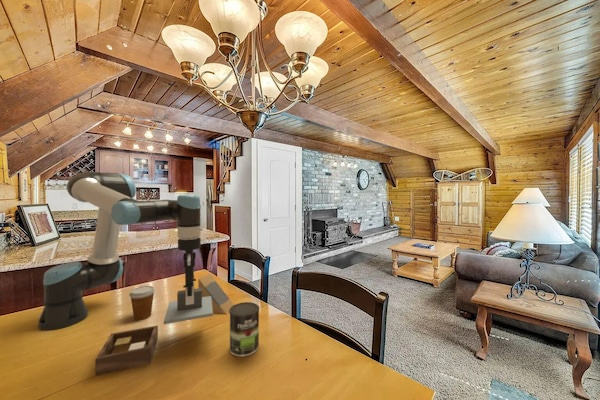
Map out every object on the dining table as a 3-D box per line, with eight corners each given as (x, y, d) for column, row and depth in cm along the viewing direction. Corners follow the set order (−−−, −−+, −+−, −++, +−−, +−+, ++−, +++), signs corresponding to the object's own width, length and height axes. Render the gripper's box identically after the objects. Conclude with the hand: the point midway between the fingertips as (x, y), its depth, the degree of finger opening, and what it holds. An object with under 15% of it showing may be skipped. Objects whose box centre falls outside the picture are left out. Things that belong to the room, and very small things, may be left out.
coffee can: (263, 351, 85) (263, 311, 85) (232, 360, 80) (232, 318, 80) (254, 335, 94) (254, 299, 94) (226, 343, 89) (226, 305, 89)
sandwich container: (226, 315, 110) (226, 282, 109) (198, 310, 114) (197, 278, 114) (237, 306, 118) (237, 276, 118) (209, 302, 122) (209, 272, 122)
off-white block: (131, 355, 81) (131, 343, 81) (145, 352, 82) (145, 341, 82) (128, 363, 77) (128, 351, 77) (143, 360, 79) (143, 348, 78)
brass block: (118, 350, 84) (117, 338, 83) (131, 347, 85) (131, 336, 85) (114, 357, 80) (113, 345, 80) (128, 354, 81) (128, 342, 81)
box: (111, 350, 85) (111, 333, 85) (157, 341, 90) (157, 325, 90) (95, 379, 72) (95, 359, 72) (150, 366, 77) (150, 348, 77)
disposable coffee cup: (124, 319, 106) (124, 291, 105) (145, 309, 114) (145, 284, 114) (139, 324, 102) (139, 295, 102) (160, 313, 111) (160, 287, 110)
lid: (169, 304, 93) (169, 286, 93) (211, 298, 99) (211, 281, 99) (163, 324, 80) (163, 303, 79) (212, 315, 85) (212, 295, 85)
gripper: (200, 241, 82) (201, 310, 83) (200, 233, 97) (201, 292, 98) (175, 242, 80) (176, 314, 80) (179, 234, 94) (180, 294, 95)
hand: (190, 301), depth 89 cm, fingers closed on lid, 3 cm apart
